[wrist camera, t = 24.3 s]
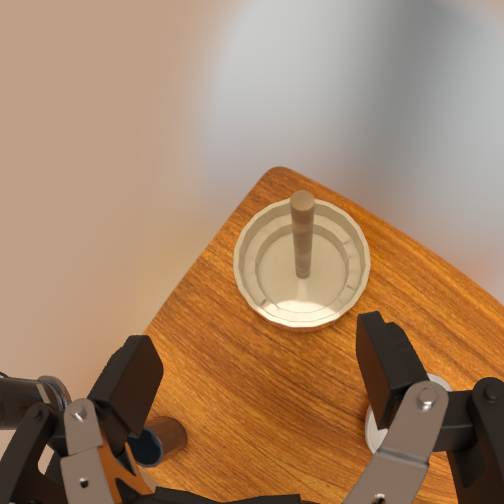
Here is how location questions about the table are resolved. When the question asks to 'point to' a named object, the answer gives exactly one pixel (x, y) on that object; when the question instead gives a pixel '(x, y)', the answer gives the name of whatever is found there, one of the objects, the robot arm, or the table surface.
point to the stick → (302, 230)
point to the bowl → (284, 272)
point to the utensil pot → (157, 441)
